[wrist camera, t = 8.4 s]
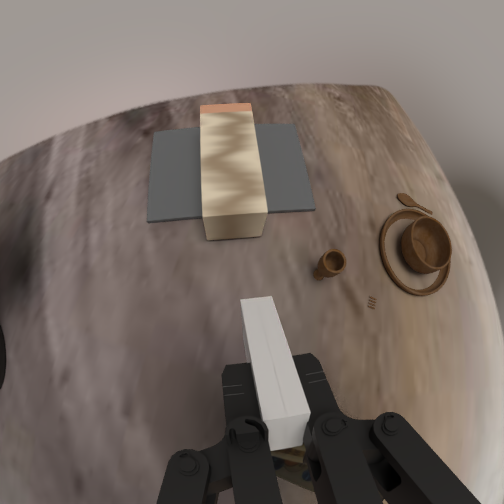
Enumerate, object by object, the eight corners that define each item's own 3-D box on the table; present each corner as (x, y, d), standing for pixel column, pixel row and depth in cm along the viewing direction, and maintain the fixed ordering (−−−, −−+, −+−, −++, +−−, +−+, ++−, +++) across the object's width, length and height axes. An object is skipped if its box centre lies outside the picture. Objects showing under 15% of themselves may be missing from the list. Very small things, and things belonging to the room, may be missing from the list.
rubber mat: (148, 223, 32) (146, 221, 32) (154, 134, 36) (154, 132, 36) (314, 210, 34) (315, 208, 34) (293, 126, 39) (294, 123, 38)
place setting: (436, 328, 31) (465, 322, 25) (301, 288, 32) (316, 275, 26) (443, 216, 37) (466, 199, 31) (330, 167, 37) (344, 140, 32)
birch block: (202, 217, 26) (200, 105, 30) (207, 240, 31) (203, 137, 36) (267, 212, 26) (250, 103, 31) (261, 236, 32) (247, 134, 37)
